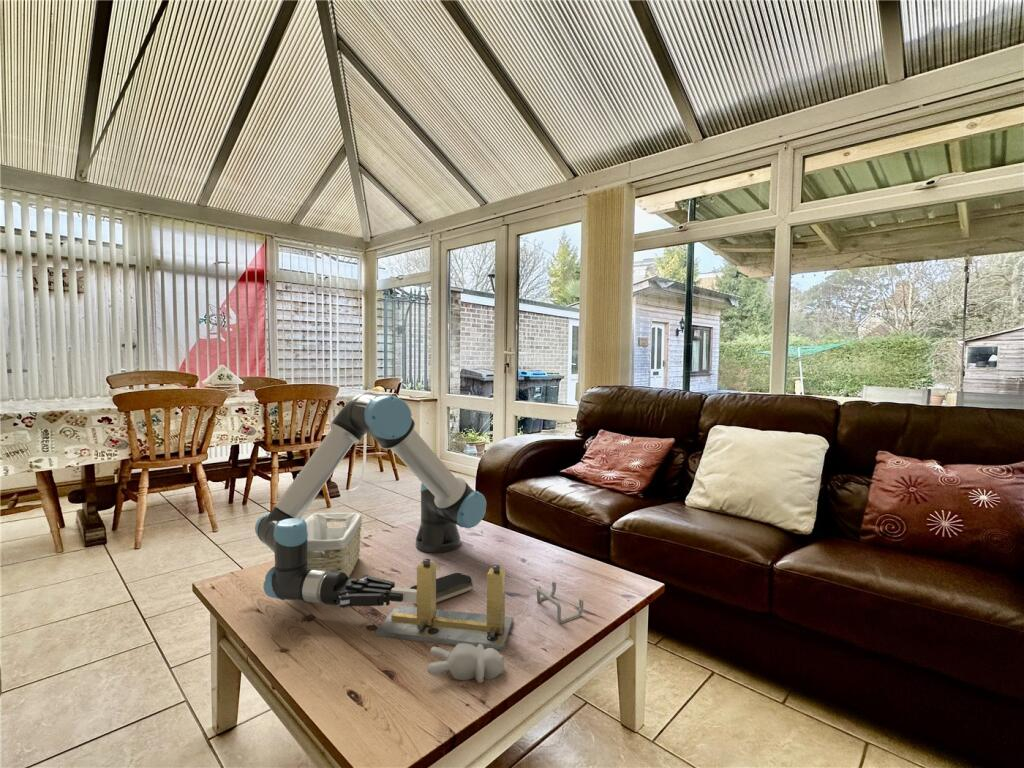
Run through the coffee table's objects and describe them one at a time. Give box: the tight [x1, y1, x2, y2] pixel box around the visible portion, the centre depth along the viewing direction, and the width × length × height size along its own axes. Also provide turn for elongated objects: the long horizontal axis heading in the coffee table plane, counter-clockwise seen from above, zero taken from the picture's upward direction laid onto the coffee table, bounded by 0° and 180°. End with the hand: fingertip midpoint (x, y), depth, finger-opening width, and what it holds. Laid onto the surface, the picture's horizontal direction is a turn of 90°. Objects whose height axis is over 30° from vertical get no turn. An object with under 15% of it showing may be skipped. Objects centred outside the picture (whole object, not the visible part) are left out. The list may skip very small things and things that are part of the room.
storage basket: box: [305, 512, 363, 579], centre depth 145 cm, size 24×16×15 cm
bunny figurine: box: [427, 643, 505, 684], centre depth 100 cm, size 10×5×15 cm
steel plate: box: [375, 604, 514, 652], centre depth 116 cm, size 12×30×1 cm, turn 80°
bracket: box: [535, 580, 584, 624], centre depth 126 cm, size 13×8×5 cm, turn 31°
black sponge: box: [409, 572, 474, 604], centre depth 133 cm, size 16×8×4 cm, turn 130°
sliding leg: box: [416, 558, 437, 630], centre depth 116 cm, size 6×4×15 cm, turn 170°
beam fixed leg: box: [391, 564, 506, 638], centre depth 115 cm, size 6×27×15 cm, turn 80°
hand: (417, 596), depth 116 cm, fingers closed
